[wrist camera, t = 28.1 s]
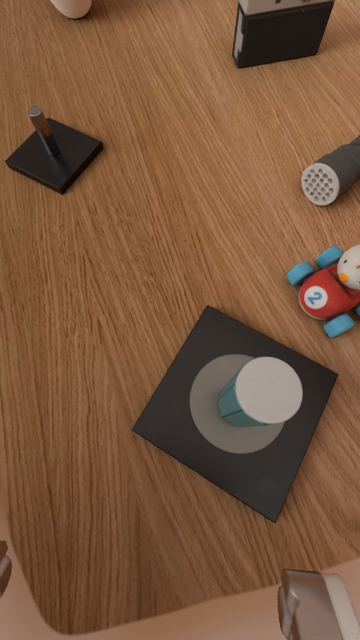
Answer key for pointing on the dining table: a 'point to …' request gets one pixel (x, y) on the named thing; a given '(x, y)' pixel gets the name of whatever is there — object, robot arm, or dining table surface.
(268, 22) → the camera
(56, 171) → the black peg stand
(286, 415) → the teal ribbed pillar
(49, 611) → the dining table surface
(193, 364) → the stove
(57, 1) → the vase
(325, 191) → the flashlight
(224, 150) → the dining table surface
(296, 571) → the robot arm
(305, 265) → the toy car
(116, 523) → the dining table surface
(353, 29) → the dining table surface
